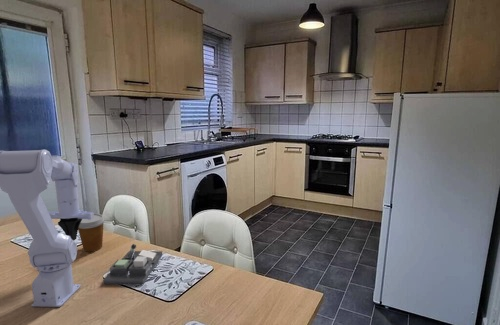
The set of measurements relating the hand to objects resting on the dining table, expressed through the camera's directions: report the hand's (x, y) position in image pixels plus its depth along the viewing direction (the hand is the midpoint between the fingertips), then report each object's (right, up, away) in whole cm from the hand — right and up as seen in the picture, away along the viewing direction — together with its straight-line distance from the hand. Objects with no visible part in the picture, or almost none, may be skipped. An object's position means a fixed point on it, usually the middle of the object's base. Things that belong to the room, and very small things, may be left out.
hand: (72, 239), depth 94 cm
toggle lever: (+17, -7, +4) cm, 19 cm away
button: (+17, -8, -2) cm, 19 cm away
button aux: (+23, -7, -2) cm, 24 cm away
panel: (+20, -10, +1) cm, 22 cm away
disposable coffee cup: (-2, -7, +16) cm, 17 cm away
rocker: (+23, -6, +4) cm, 24 cm away
